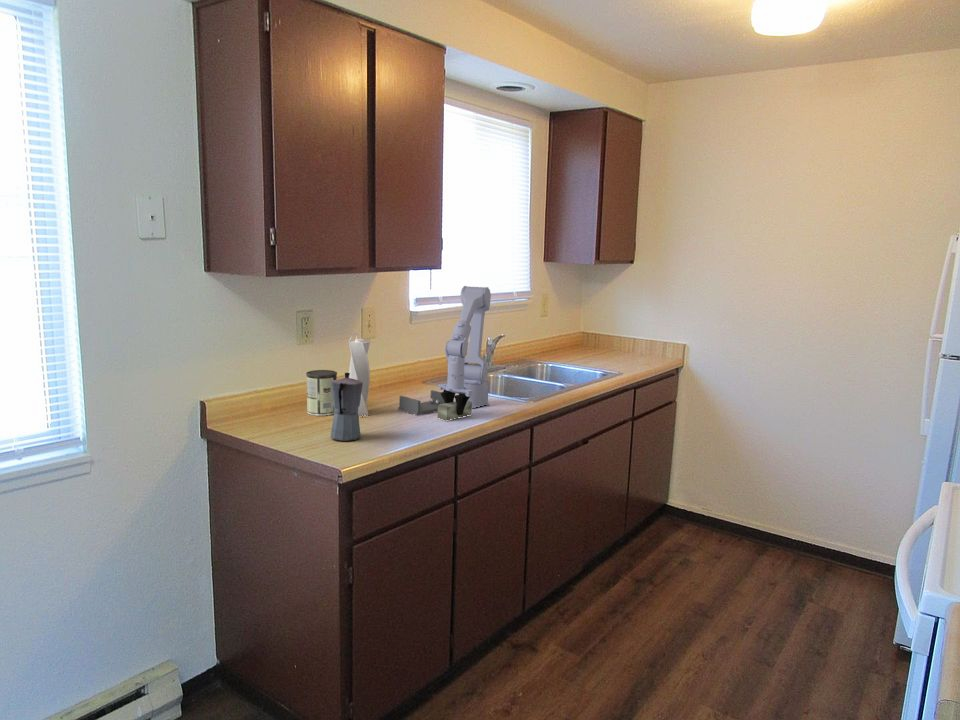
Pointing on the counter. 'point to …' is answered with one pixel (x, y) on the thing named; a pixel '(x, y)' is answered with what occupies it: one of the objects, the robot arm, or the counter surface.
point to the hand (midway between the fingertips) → (454, 413)
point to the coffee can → (320, 392)
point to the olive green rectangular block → (453, 410)
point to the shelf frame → (421, 404)
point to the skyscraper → (360, 369)
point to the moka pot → (346, 408)
